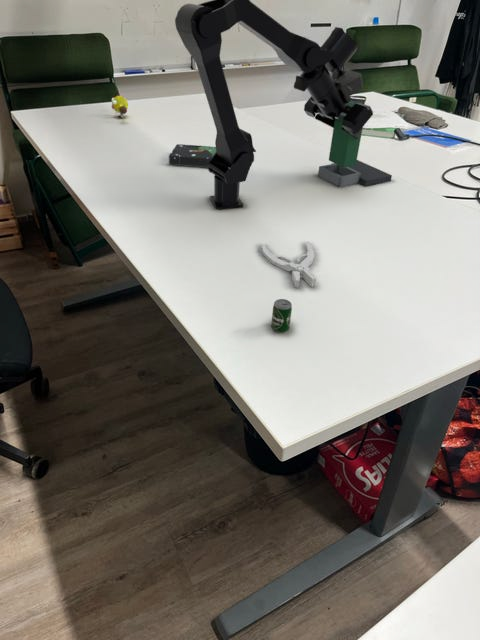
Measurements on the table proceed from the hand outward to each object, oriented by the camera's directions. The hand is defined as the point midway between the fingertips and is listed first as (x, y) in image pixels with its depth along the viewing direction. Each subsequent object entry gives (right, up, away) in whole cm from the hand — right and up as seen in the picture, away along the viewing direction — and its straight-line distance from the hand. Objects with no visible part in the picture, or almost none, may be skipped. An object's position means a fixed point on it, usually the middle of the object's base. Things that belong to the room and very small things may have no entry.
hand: (351, 133), depth 119 cm
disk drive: (-39, -2, +14) cm, 41 cm away
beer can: (-21, -47, -45) cm, 69 cm away
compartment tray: (+2, -8, +8) cm, 12 cm away
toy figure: (-69, +23, +46) cm, 86 cm away
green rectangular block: (-1, -6, +4) cm, 7 cm away
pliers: (-18, -36, -30) cm, 50 cm away
